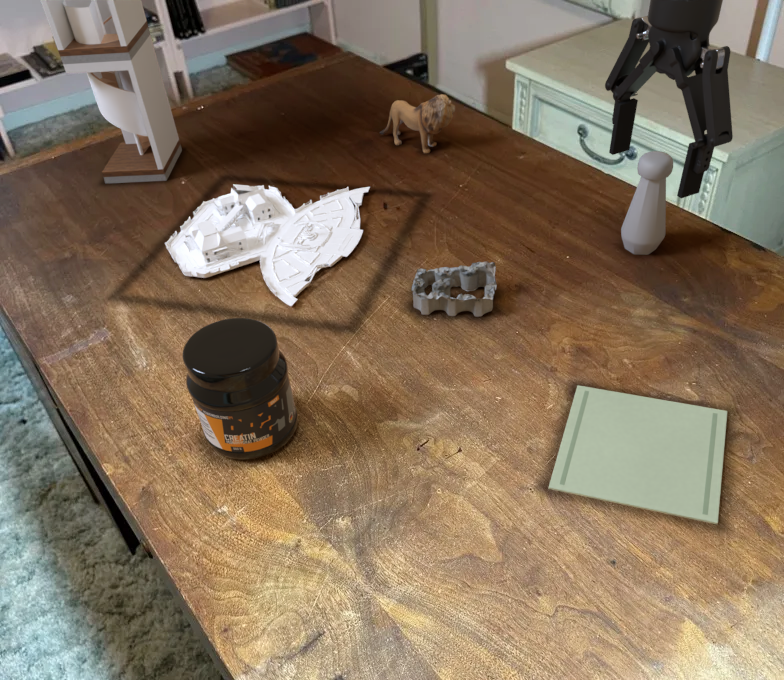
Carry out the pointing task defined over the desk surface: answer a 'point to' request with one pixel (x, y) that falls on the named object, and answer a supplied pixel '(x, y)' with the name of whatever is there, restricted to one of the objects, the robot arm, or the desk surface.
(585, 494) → the napkin
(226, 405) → the supplement container
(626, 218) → the salt shaker
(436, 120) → the lion figurine
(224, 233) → the architectural model
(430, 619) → the desk surface
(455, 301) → the egg carton
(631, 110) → the robot arm
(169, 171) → the tiered tower model
